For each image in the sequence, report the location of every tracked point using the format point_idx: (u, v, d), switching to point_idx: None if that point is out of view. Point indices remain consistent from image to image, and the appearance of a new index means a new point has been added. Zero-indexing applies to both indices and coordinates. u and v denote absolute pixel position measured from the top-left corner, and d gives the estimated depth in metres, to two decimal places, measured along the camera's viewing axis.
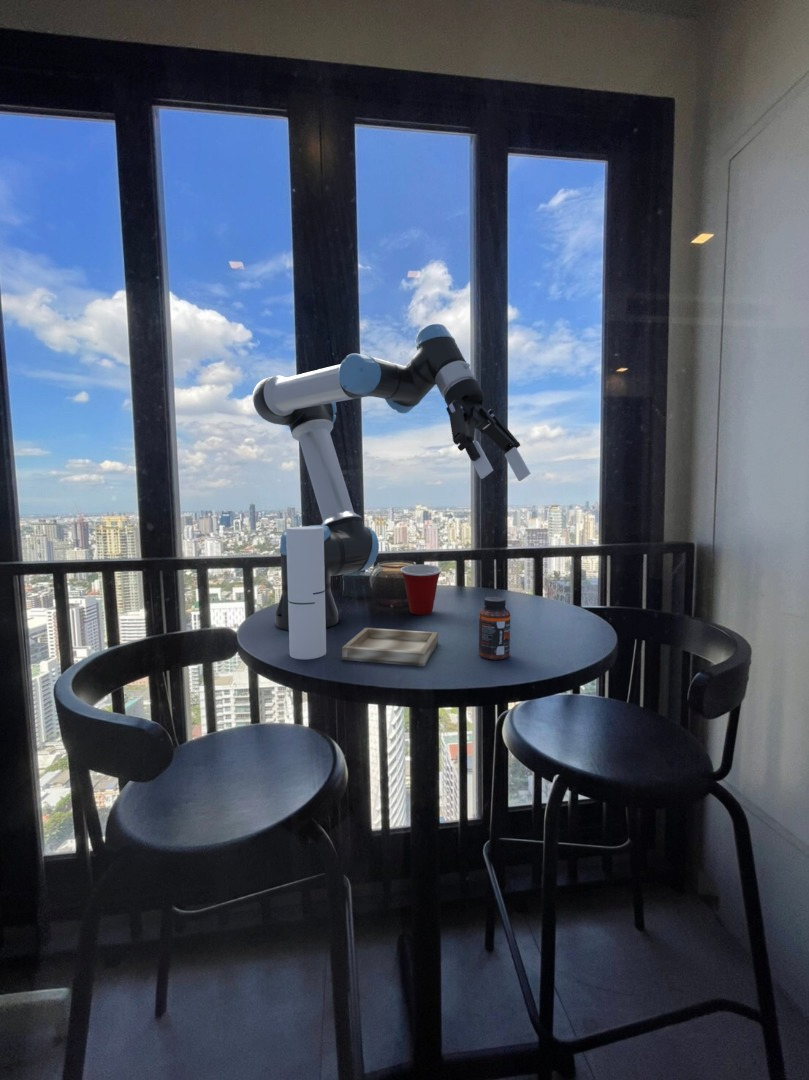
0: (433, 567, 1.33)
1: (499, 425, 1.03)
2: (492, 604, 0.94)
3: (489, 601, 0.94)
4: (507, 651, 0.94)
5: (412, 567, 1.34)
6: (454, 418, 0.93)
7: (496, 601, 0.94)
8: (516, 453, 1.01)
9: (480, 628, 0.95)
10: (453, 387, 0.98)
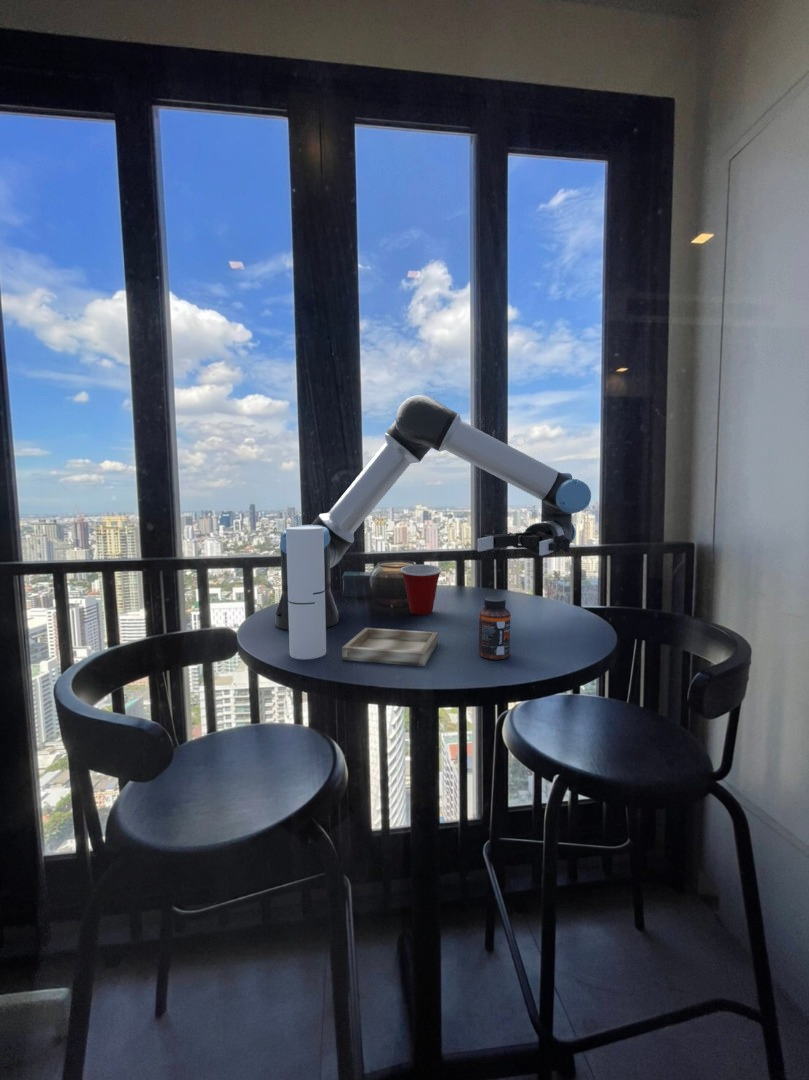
0: (433, 567, 1.33)
1: None
2: (492, 604, 0.94)
3: (489, 601, 0.94)
4: (507, 651, 0.94)
5: (412, 567, 1.34)
6: None
7: (496, 601, 0.94)
8: (490, 547, 1.10)
9: (480, 628, 0.95)
10: None
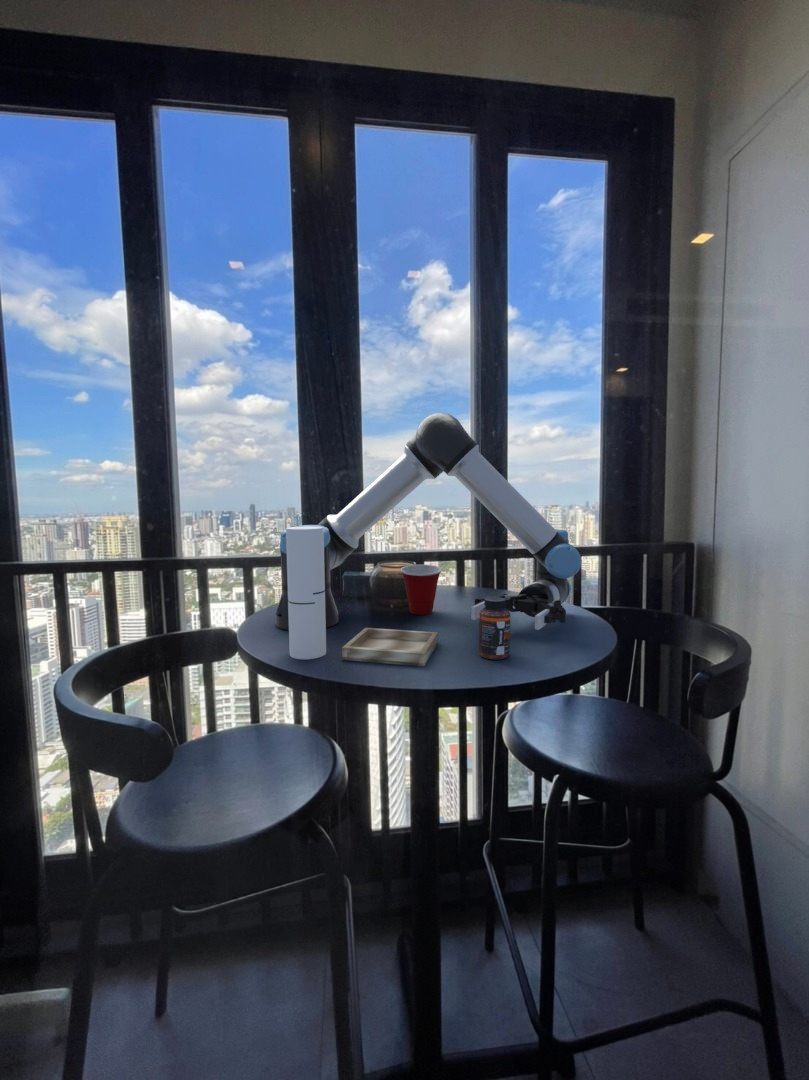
0: (433, 567, 1.33)
1: None
2: (492, 604, 0.94)
3: (489, 601, 0.94)
4: (507, 651, 0.94)
5: (412, 567, 1.34)
6: None
7: (496, 601, 0.94)
8: None
9: (480, 628, 0.95)
10: None
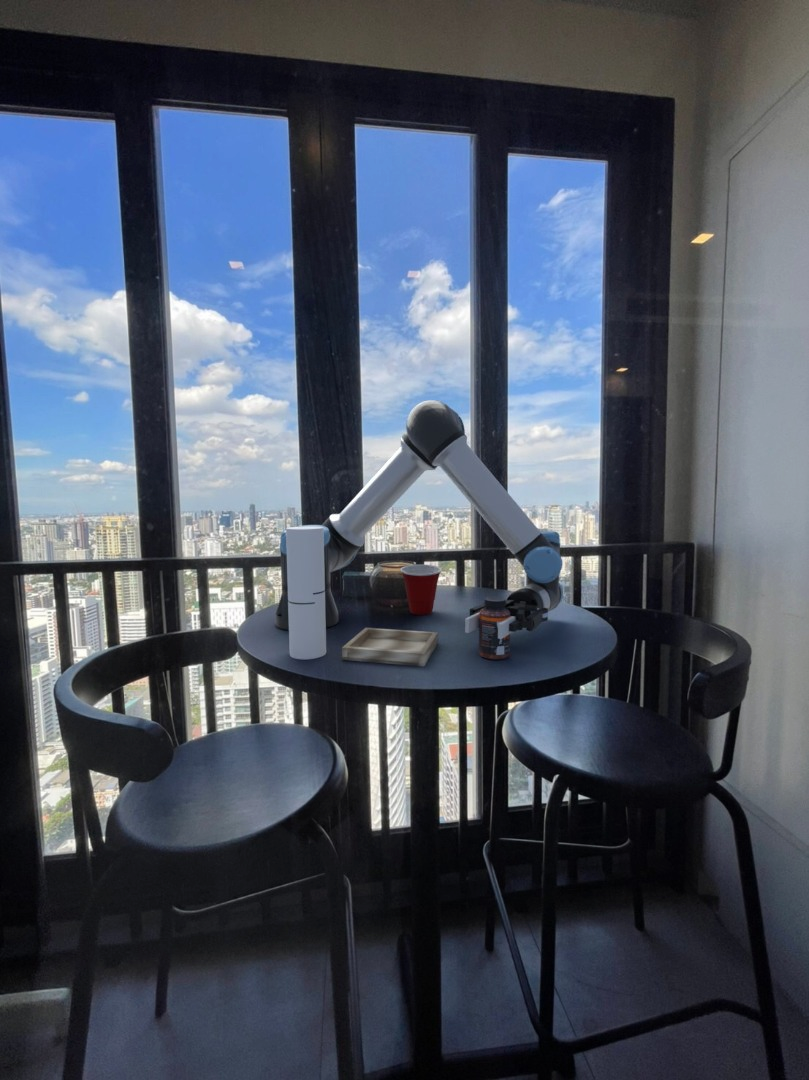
0: (433, 567, 1.33)
1: None
2: (492, 604, 0.94)
3: (489, 601, 0.94)
4: (507, 651, 0.94)
5: (412, 567, 1.34)
6: (539, 618, 0.99)
7: (496, 601, 0.94)
8: None
9: (480, 627, 0.95)
10: None
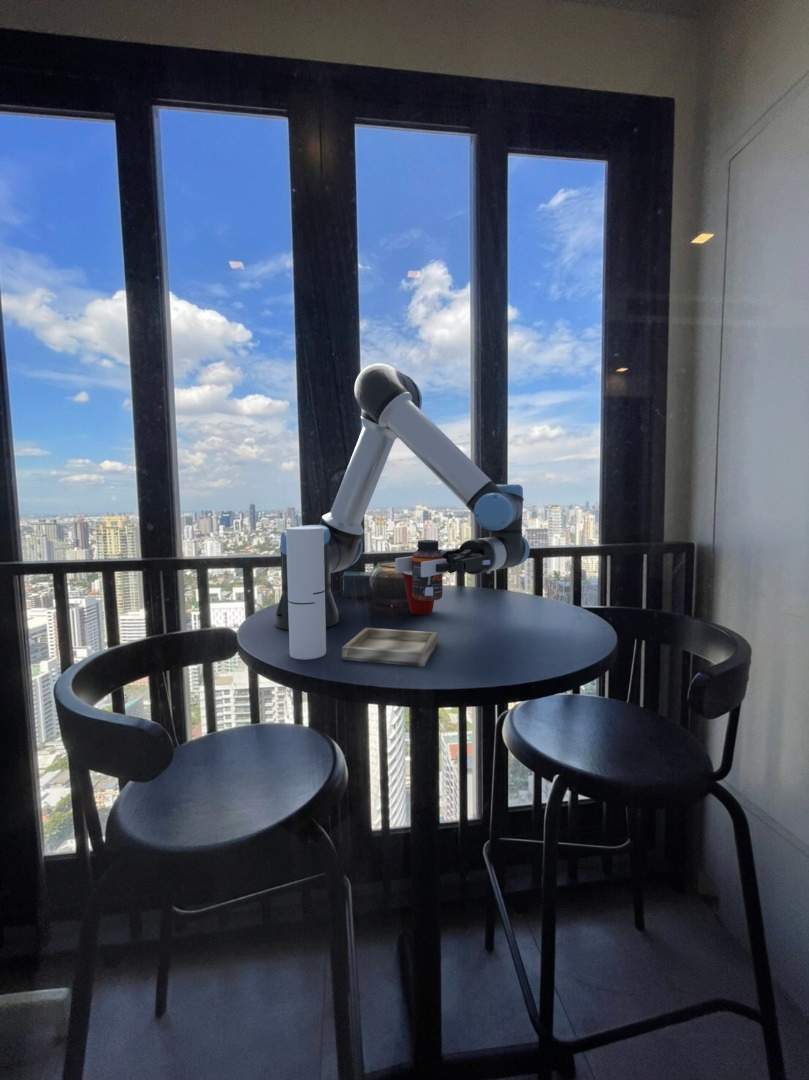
0: None
1: None
2: (422, 545, 0.94)
3: (420, 542, 0.95)
4: (437, 593, 0.94)
5: None
6: (477, 564, 0.97)
7: (426, 542, 0.94)
8: None
9: (412, 569, 0.96)
10: (492, 561, 1.06)
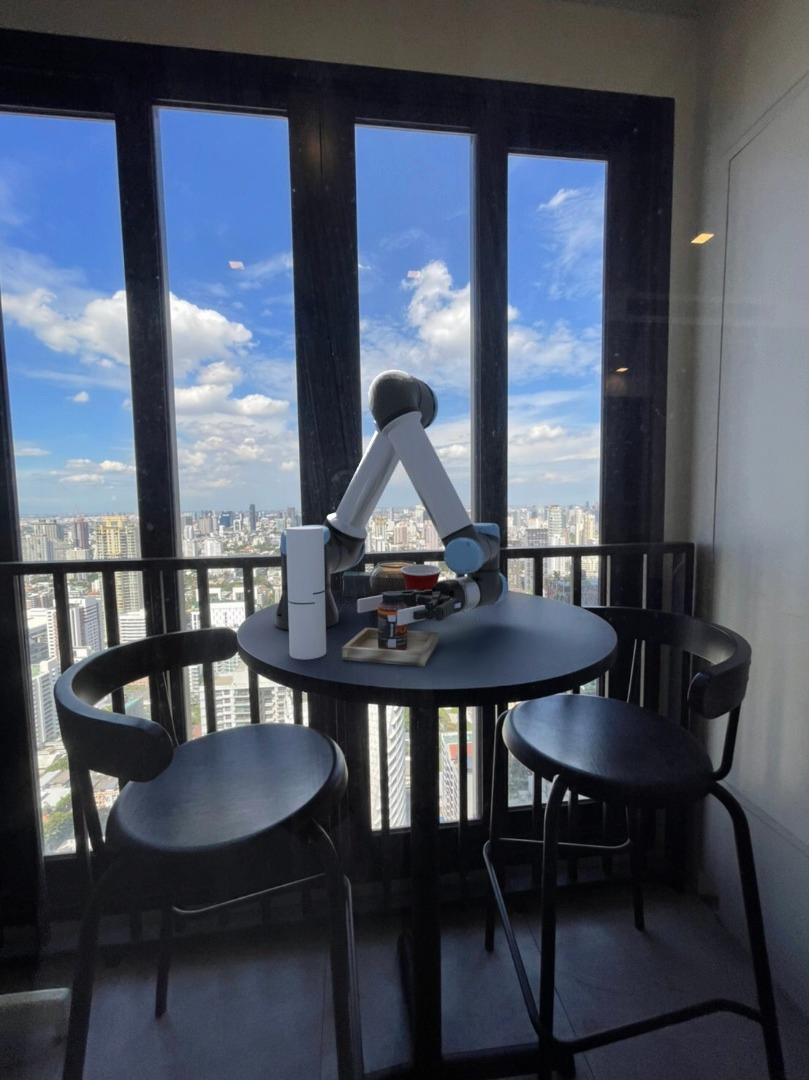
0: (433, 567, 1.33)
1: None
2: (385, 597, 0.97)
3: (384, 595, 0.97)
4: (400, 644, 0.97)
5: (412, 567, 1.34)
6: (451, 608, 0.99)
7: (389, 595, 0.97)
8: None
9: None
10: (463, 602, 1.07)
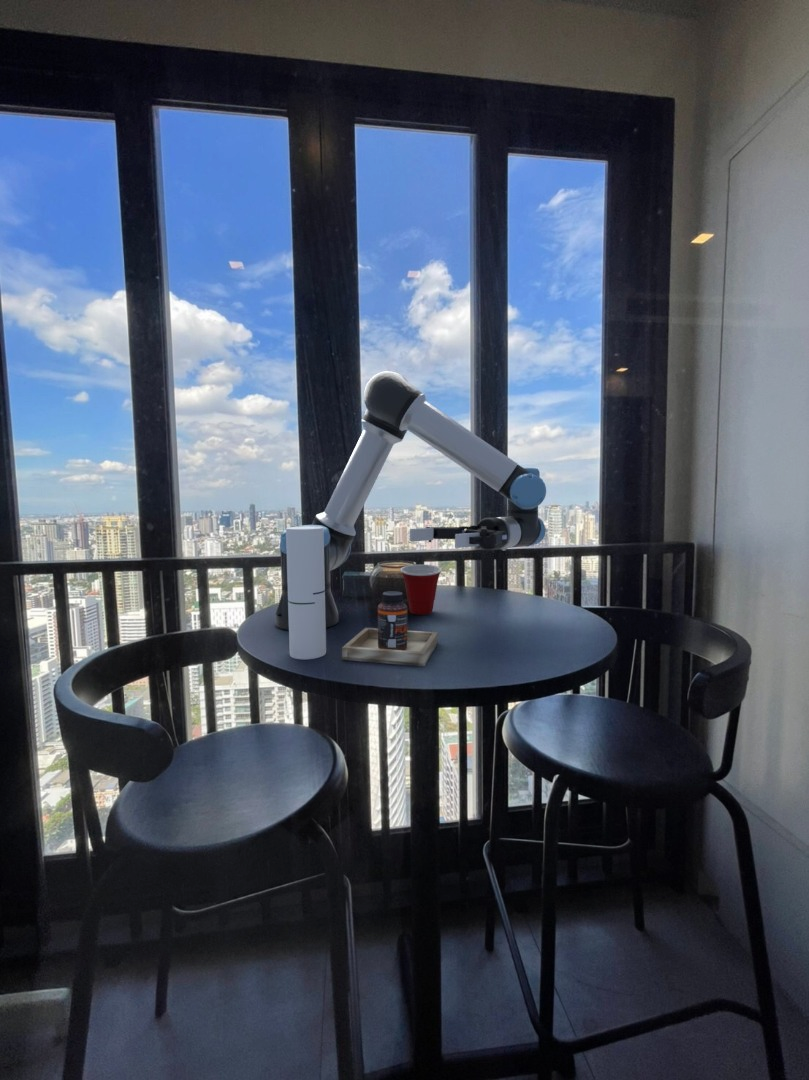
0: (433, 567, 1.33)
1: None
2: (385, 597, 0.97)
3: (384, 595, 0.97)
4: (400, 644, 0.97)
5: (412, 567, 1.34)
6: (500, 538, 1.06)
7: (389, 595, 0.97)
8: (428, 539, 1.12)
9: None
10: (507, 537, 1.14)
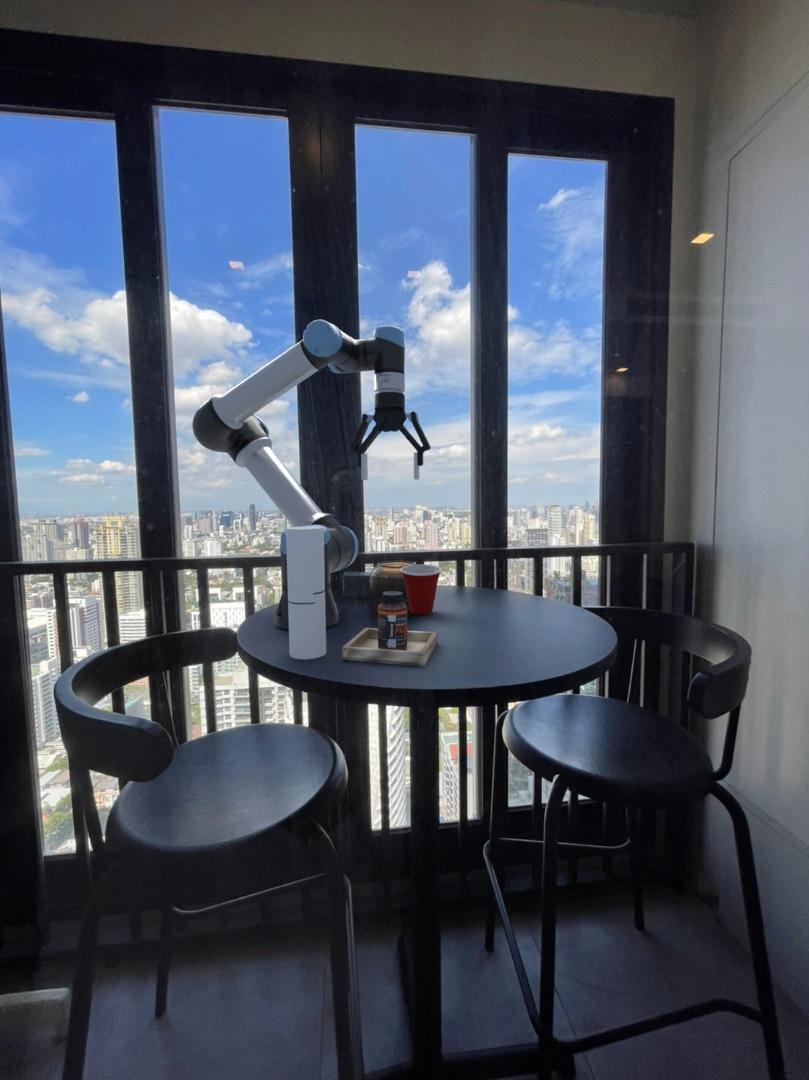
0: (433, 567, 1.33)
1: None
2: (385, 597, 0.97)
3: (384, 595, 0.97)
4: (400, 644, 0.97)
5: (412, 567, 1.34)
6: None
7: (389, 595, 0.97)
8: (414, 458, 1.22)
9: None
10: None
